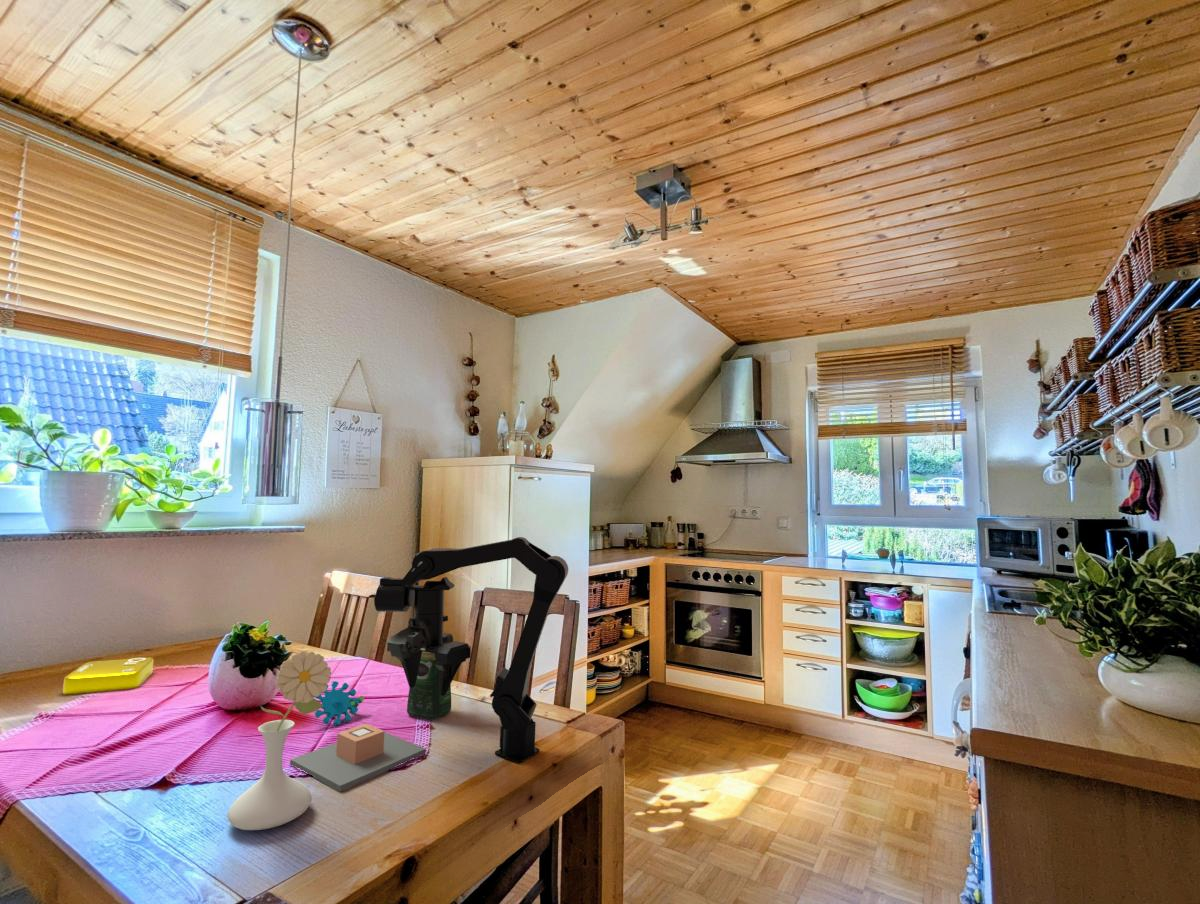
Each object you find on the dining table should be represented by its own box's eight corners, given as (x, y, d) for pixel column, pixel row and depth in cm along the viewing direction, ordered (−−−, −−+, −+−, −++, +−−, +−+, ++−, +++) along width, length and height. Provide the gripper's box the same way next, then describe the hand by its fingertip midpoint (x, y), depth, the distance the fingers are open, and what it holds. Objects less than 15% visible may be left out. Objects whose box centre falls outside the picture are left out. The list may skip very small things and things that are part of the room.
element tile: (84, 678, 150) (86, 659, 151) (154, 672, 157) (155, 654, 157) (58, 697, 137) (61, 676, 137) (136, 690, 143) (138, 670, 143)
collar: (383, 752, 109) (384, 731, 110) (354, 764, 104) (356, 741, 105) (364, 744, 113) (366, 723, 113) (336, 755, 108) (337, 733, 108)
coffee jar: (456, 711, 134) (460, 630, 135) (435, 723, 127) (439, 637, 128) (423, 704, 137) (427, 626, 139) (400, 716, 130) (404, 632, 132)
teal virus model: (314, 724, 120) (313, 680, 127) (305, 738, 123) (304, 694, 129) (367, 720, 127) (363, 678, 134) (357, 733, 130) (354, 692, 136)
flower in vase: (218, 846, 81) (232, 666, 83) (234, 805, 92) (246, 646, 94) (320, 827, 86) (331, 658, 88) (324, 791, 97) (333, 640, 99)
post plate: (425, 754, 112) (427, 727, 112) (339, 791, 97) (341, 761, 97) (375, 733, 120) (377, 708, 121) (289, 765, 106) (291, 737, 106)
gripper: (365, 613, 114) (362, 694, 113) (428, 624, 104) (426, 713, 103) (410, 604, 123) (409, 679, 122) (473, 614, 113) (471, 695, 112)
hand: (427, 691), depth 114 cm, fingers open, 9 cm apart
